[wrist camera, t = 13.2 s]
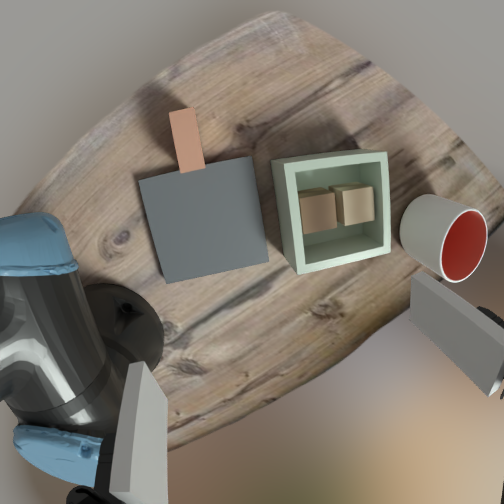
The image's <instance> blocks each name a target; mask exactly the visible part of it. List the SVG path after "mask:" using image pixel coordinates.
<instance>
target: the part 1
mask: <svg viewBox="0 0 504 504" xmlns="http://www.w3.org/2000/svg"><path fill="white" fill-rule="evenodd" d="M297 193H298V201H299V209H300V218H301V226H302V233H303V234H309V233H314V232H318V231H323V230H328V229H333V228H337V219H336V206H335V195H334V192H331V191H329V190H327V189H324V188H322V187H318V188H312V189H306V190H300V191H297Z"/></svg>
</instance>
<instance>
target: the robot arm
mask: <svg viewBox="0 0 504 504" xmlns="http://www.w3.org/2000/svg"><path fill="white" fill-rule="evenodd" d="M78 268H79V267H78V263H77V261H76V260H75V259H74V258H73V255H72V252H71V249H70V246H69V243H68V240H67V237H66V234H65V230H64V228H63V225H62V224H61V222H60V221H59V220H58V219H57V218H56V217H55V216H53V215H51V214H49V213H44V212H34V213H26V214H19V215H14V216H8V217H4V218H0V402H1V401H2V400H5V402H6V403H7V405H8V406H9V407H10V409H11V410H12V412H13V413H14V414H15V416H16V417H17V419H18V425H17V426H16V427H15V428H14V430H13V432H14V438H13V443H14V446H15V448H16V449H17V451H18V452H19V453H20V454H21V455H22V456H23V457H24V458H25V459H26V460H27V461H29V462H30V463H31V464H33V465H34V466H36V467H37V468H39V469H41V470H43V471H45V472H46V473H49V474H51V475H52V476H55V477H58V478H60V479H63V480H66V481H68V482H72V483H76V484H80V485H81V486H77V487H75V488H73V489H72V490H71V491H70V492H69V494H68V496H67V500H66V504H168V489H167V411H168V399H167V398H166V396H165V395H164V393H163V392H162V390H161V388H160V387H159V385H158V383H157V382H156V380H155V379H154V377H153V375H152V373H151V372H152V371H153V370H154V369H155V368H156V366H157V365H158V363H159V361H160V359H161V356H162V353H163V346H164V330H163V326H162V323H161V321H160V319H159V317H158V315H157V313H156V312H155V311H154V309H153V308H152V307H151V306H150V305H149V304H148V303H147V302H146V301H145V300H144V299H143V298H142V297H140V296H139V295H137V294H136V293H134V292H132V291H130V290H128V289H126V288H123V287H120V286H117V285H112V284H93V285H89V286H86V287H84V288H83V286H82V283H81V280H80V276H79V273H78V270H77V269H78ZM409 320H410V321H411V322H412V323H413V324H414V325H415V326H416V327H417V328H419V330H420V331H421V332H423V333H424V334H425V335H426V336H427V337H428V338H429V339H430V340H431V341H432V342H433V343H434V344H435V345H436V346H437V347H438V348H439V349H441V351H442V352H443V353H444V354H446V355H447V356H448V357H449V358H450V359H451V360H452V361H453V362H454V363H455V364H456V365H457V366H458V367H459V368H460V369H461V370H462V371H463V372H464V373H465V374H466V375H467V376H468V377H469V378H470V379H471V380H472V381H473V382H474V383H475V384H476V385H477V386H478V387H479V389H481V391H483V393H485V395H486V396H487V397H489V396H490V395H491V394H493V393H494V392H495V391H496V390H497V389H499V387H500V385H501V383H502V380H503V379H504V321H503V320H502V319H501V318H500V317H497V315H496V314H494V313H493V312H492V311H490V310H489V309H486V308H483V307H480V306H479V307H477V308H475V307H474V306H472V305H471V304H469V303H468V302H467V301H465V300H464V299H463V298H461V297H460V296H458V295H457V294H455V293H454V292H453V291H451V290H450V289H448V288H447V287H445V286H444V285H442V284H441V283H440V282H438V281H437V280H435V279H434V278H432V277H431V276H429V275H428V274H426V273H425V272H423V271H422V272H419V273H417V274H415V275H412V276H411V301H410V319H409ZM503 396H504V390H503V392H502V394H501V397H500V399H503ZM88 486H90V487H88ZM91 487H94V490H93V489H92V488H91ZM501 504H504V483H503V491H502V498H501Z"/></svg>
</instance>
